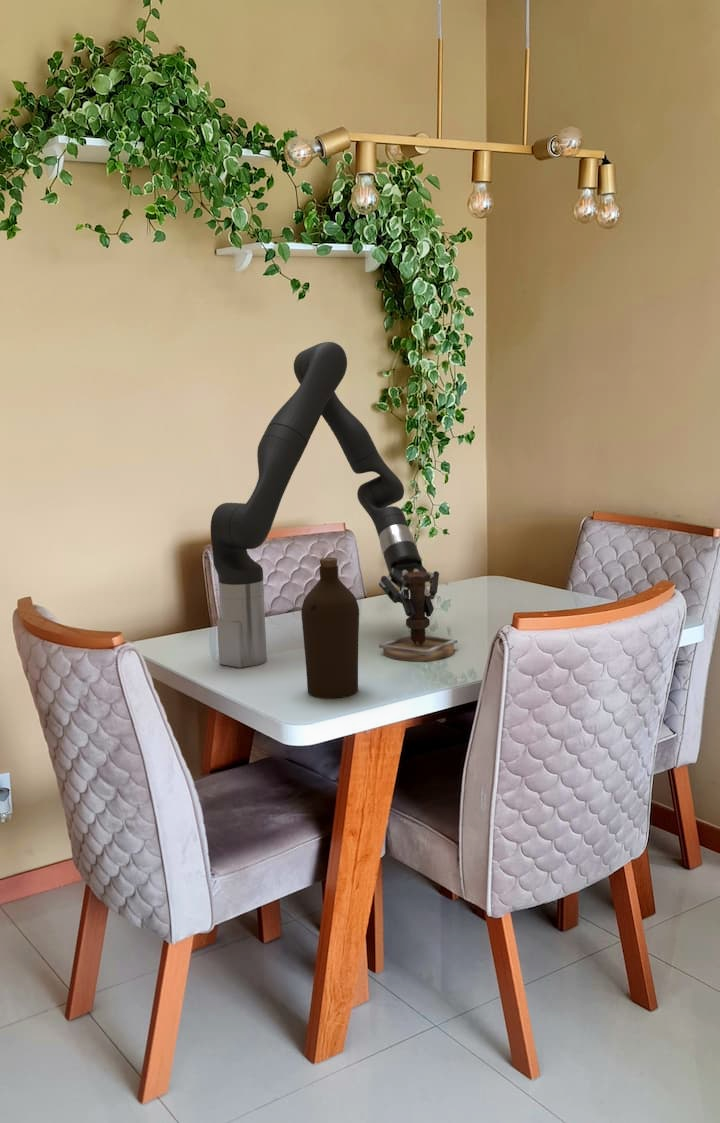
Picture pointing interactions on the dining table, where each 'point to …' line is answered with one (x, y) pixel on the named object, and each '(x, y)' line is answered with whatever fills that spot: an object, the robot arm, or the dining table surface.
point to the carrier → (418, 648)
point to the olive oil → (331, 635)
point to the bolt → (417, 605)
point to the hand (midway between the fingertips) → (421, 615)
